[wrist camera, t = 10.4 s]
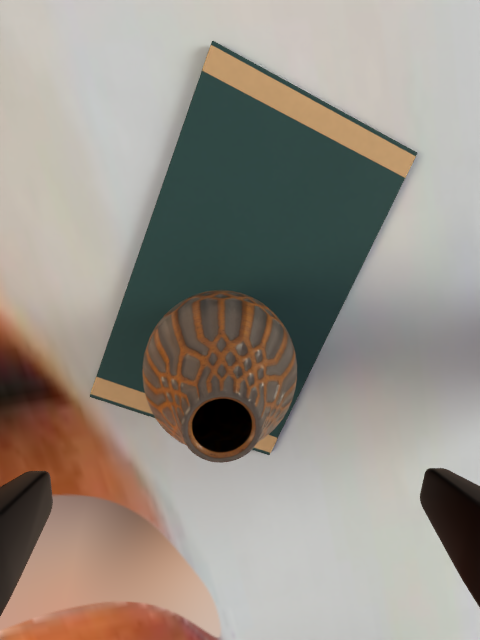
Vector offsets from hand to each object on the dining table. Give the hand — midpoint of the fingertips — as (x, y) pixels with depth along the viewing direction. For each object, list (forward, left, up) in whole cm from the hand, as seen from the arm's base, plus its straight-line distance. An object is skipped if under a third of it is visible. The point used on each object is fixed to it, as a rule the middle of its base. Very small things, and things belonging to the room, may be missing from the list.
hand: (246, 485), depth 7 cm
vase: (+1, 0, -11) cm, 11 cm away
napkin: (+1, -4, -11) cm, 12 cm away
